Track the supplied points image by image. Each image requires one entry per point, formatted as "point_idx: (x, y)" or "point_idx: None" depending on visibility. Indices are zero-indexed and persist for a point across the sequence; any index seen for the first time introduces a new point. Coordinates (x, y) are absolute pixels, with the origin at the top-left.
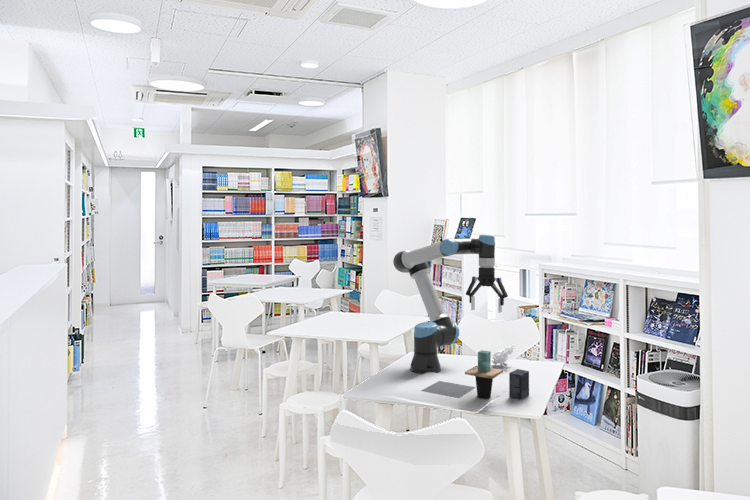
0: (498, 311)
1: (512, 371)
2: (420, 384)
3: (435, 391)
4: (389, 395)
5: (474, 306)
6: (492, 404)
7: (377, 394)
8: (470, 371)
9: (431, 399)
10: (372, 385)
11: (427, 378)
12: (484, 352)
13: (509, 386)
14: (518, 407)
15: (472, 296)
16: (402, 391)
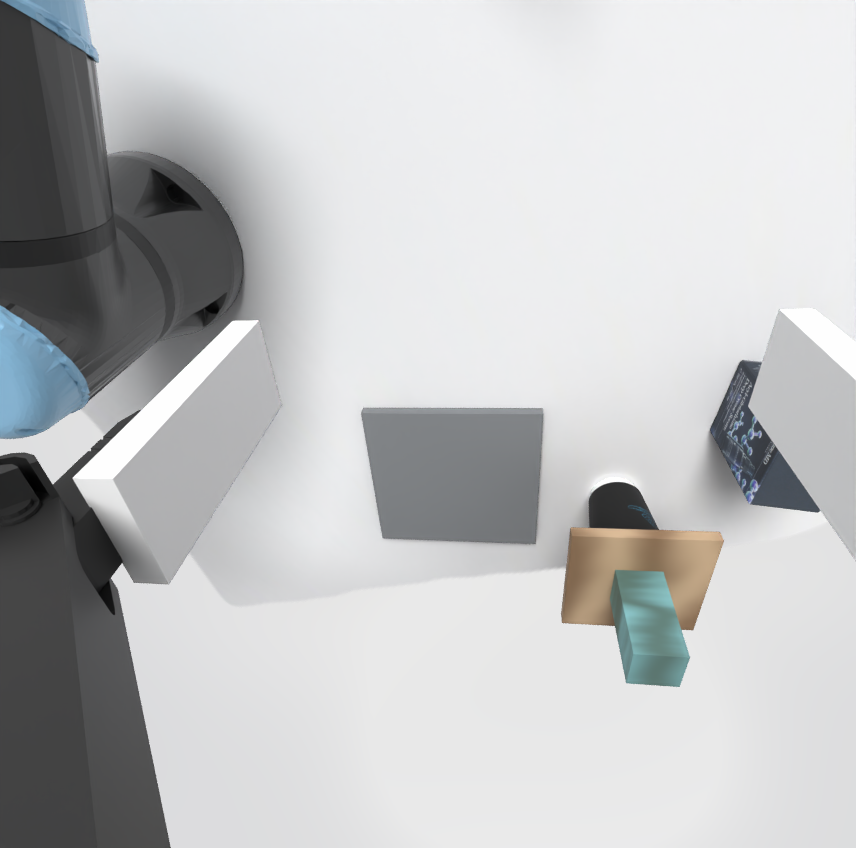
0: (760, 417)
1: (765, 479)
2: (317, 457)
3: (428, 524)
4: (323, 582)
5: (239, 360)
6: (658, 524)
7: (290, 588)
8: (581, 611)
9: (449, 563)
10: (207, 536)
11: (279, 374)
12: (662, 680)
13: (726, 459)
14: (760, 512)
15: (104, 529)
16: (325, 542)
